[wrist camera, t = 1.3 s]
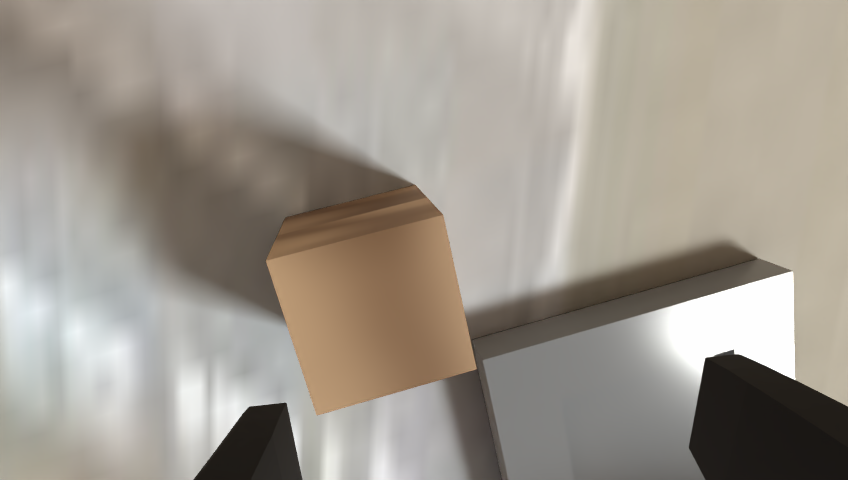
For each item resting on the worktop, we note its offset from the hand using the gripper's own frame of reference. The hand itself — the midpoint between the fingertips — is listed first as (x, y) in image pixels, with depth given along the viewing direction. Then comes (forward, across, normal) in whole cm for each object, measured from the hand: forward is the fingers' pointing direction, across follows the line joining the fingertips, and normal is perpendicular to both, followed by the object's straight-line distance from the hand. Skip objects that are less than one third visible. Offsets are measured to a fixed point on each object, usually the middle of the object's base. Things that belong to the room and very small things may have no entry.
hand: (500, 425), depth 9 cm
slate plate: (+9, -8, +10) cm, 16 cm away
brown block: (+10, +2, +1) cm, 10 cm away
